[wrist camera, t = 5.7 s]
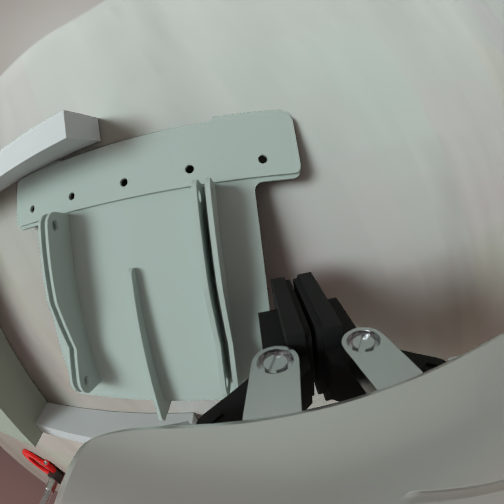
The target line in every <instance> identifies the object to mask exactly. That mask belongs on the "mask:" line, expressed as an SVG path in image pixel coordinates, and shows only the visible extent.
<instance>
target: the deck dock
mask: <svg viewBox="0 0 504 504" xmlns="http://www.w3.org/2000/svg"><path fill="white" fill-rule="evenodd" d="M99 141H101V138H100V131H99V124H98V118H96V117H92V116H87V115H83V114H79V113H74V112H70V111H65V110H63V111H61V112H59V113H57V114H55V115H54V116H52V117H50V118H48V119H47V120H45V121H43V122H42V123H40V124H38V125H37V126H35V127H34V128H32V129H30V130H29V131H27V132H26V133H24V134H23V135H21V136H20V137H18V138H17V139H15V140H14V141H13V142H11V143H10V144H8V145H7V146H6V147H4V148H3V149H2V150H0V192H1V191H2V190H4V189H5V188H7V187H8V186H10V185H12V184H13V183H15V182H17V181H18V180H20V179H22V178H24V177H25V176H27V175H29V174H31V173H33V172H34V171H36V170H38V169H40V168H42V167H44V166H46V165H48V164H50V163H52V162H54V161H56V160H58V159H60V158H62V157H64V156H66V155H69V154H71V153H73V152H75V151H77V150H80V149H82V148H84V147H87V146H89V145H92V144H94V143H96V142H99ZM185 421H189V423H190V424H192V423H196V422H197V421H198V420H197V418H196V416H195V415H194V413H171V414H167V416H166V419H165V421H160V420H159V418H158V415H157V414H156V413H128V412H113V411H102V410H93V409H85V408H78V407H71V406H65V405H60V404H54V403H49V402H47V401H46V399H45V398H44V397H43V395H42V394H41V393H40V391H39V390H38V388H37V387H36V386H35V384H34V383H33V381H32V380H31V378H30V377H29V375H28V374H27V372H26V371H25V369H24V368H23V366H22V365H21V363H20V361H19V360H18V358H17V356H16V355H15V353H14V351H13V349H12V348H11V346H10V344H9V342H8V341H7V339H6V337H5V335H4V333H3V331H2V329H1V327H0V431H2V432H4V433H6V434H8V435H10V436H12V437H14V438H16V439H18V440H20V441H23V442H25V443H27V444H30V445H32V446H34V447H36V445H37V443H38V441H39V439H40V437H41V435H42V433H43V432H45V433H48V434H51V435H54V436H58V437H62V438H65V439H69V440H73V441H77V442H82V443H85V442H87V441H88V440H90V439H92V438H94V437H96V436H99V435H102V434H105V433H109V432H113V431H117V430H122V429H129V428H136V427H149V426H165V425H170V424H175V423H180V422H185Z"/></svg>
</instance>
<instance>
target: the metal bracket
mask: <svg viewBox="0 0 504 504" xmlns="http://www.w3.org/2000/svg"><path fill="white" fill-rule="evenodd" d="M260 156H265V157H266V158H267V162H266V163H264V164H263V163H260V162H259V160H258V158H259V157H260ZM188 166H193V167H194V171H193V172H192V173H190V174H189V173H186V168H187V167H188ZM300 168H301V164H300V158H299V152H298V147H297V141H296V136H295V130H294V125H293V120H292V118H291V116H290V115H289V114H288V113H287V112H284V111H282V110H270V111H258V112H248V113H239V114H231V115H223V116H216V117H213V118H212V119H211V120H210V121H208V122H205V123H199V124H194V125H188V126H183V127H178V128H173V129H168V130H163V131H159V132H155V133H150V134H146V135H142V136H138V137H134V138H131V139H127V140H123V141H120V142H116V143H113V144H110V145H106V146H103V147H100V148H97V149H94V150H91V151H88V152H85V153H82V154H79V155H76V156H74V157H71V158H68V159H66V160H63V161H60V160H56V161H54V162H52V163H50V164H48V165H46V166H44V167H42V168H40V169H38V170H36V171H34V172H33V173H31V174H29V175H27V176H25V177H24V178H22V179H20V180H19V182H18V185H17V225H18V226H20V228H21V229H22V230H26V229H29V228H32V227H36V226H38V237H39V249H40V259H41V267H42V274H43V281H44V287H45V293H46V298H47V303H48V306H49V309H50V311H51V314H52V316H53V319H54V323H55V327H56V331H57V335H58V339H59V342H60V346H61V349H62V353H63V356H64V359H65V362H66V365H67V368H68V371H69V379H70V384H71V386H72V388H73V389H74V390H75V391H77V392H79V393H81V394H88V395H96V396H104V397H113V398H125V399H139V400H153V402H154V405H155V409H156V412H157V415H158V418H159V420H160V421H165V419H166V416H167V413H168V410H169V407H170V404H171V401H192V400H218V399H224V398H225V397H226V396H227V395H229V394H230V393H231V392H232V391H234V390H235V389H236V388H237V387H238V386H240V385H241V384H242V383H243V382H244V381H246V380H247V379H248V378H249V375H250V369H251V362H252V360H253V357H254V356H255V355H256V354H257V353H258V352H260V351H261V350H263V348H262V341H261V333H260V325H259V317H258V313H260V312H265V311H270V309H269V301H268V292H267V284H266V276H265V267H264V259H263V251H262V243H261V235H260V227H259V219H258V211H257V204H256V196H255V187H256V186H257V185H258V184H260V183H262V182H271V181H281V180H291V179H295V178H297V177H298V176H299V174H300ZM124 179H127V181H128V182H127V185H126V186H124V187H123V186H122V181H123V180H124ZM73 193H74V199H73V200H71V195H72V194H73ZM33 206H34V208H35V209H34V212H33V210H32V209H33Z"/></svg>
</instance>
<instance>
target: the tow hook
mask: <svg viewBox="0 0 504 504" xmlns="http://www.w3.org/2000/svg"><path fill="white" fill-rule="evenodd" d="M22 453H23V455H24V456H25V457H26V458H27V459H28V460H29V461H30V462H31V463H33V464H34V465H35V466H36V467H38V468H39V469H41V470H42V471H43V472H45V473H47V474H48V475H47V476H48V477H50V478H49V480H48V482H47V485H46V490H45V492H44V495H43V497H42V499H41V502H40V504H48V502H49V500H50V497H51V495H52V493H54V491H55V489H56V486H57V484H58V483H59V484H61V482H62V481H63V478H64V476H65V475H64V474H63V473H62V472H61V471H60V470H59V469H57V468H56V467H55V466H53V465H52V464H51V463H50V462H49V461H48V460H42V459H41V458H39V457H38V456H36V455H35V454H33V453H31V452H30V451H28V450H26V449H23V451H22ZM35 460H36V461H37V462H39V463H40V464H42V465H43V466H44V467H46V468H47V469H49V470H50V471H49V470H47V469H46V468H44V467H43V466H41V465H40V464H39V463H37V462H36V461H35Z"/></svg>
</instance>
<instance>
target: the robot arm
mask: <svg viewBox="0 0 504 504" xmlns="http://www.w3.org/2000/svg"><path fill="white" fill-rule="evenodd" d="M293 284H294V289H293V287H292V284H291V282H290V280H285V279H284V277H283V278H277V279H272V280H271V285H272V291H273V298H274V304H275V310H271V311H265V312H260V313H258V317H259V325H260V333H261V341H262V348H263V350H261V351H260V352H258V353H257V354H256V355H255V356H254V357H253V360H252V362H251V369H250V375H249V378H248V379H247V380H246V381H244V382H243V383H242V384H241V385H240V386H238V387H237V388H236V389H235V390H234V391H232V392H231V393H230V394H229V395H227V396H226V397H225V398H224V399H223V400H221V401H220V402H219V403H217V404H216V405H215V406H214V407H212V408H211V409H210V410H209V411H207V412H206V413H205V414H203V415H202V416H201V417H200V418H199V419H198V421H197V422H196V423H192V424H190V423H189V421H185V422H180V423H175V424H170V425H165V426H149V427H136V428H129V429H122V430H117V431H113V432H109V433H105V434H102V435H99V436H96V437H94V438H92V439H90V440H88V441H87V442H85V443H84V444H83V445H82V446H81V448H80V449H79V450H78V452H77V453H76V455H75V456H74V458H73V460H72V461H71V463H70V465H69V467H68V469H67V471H66V474H65V476H64V478H63V481H62V483H61V486H60V489H59V492H58V494H57V497H56V501H55V503H54V504H504V333H502V334H500V335H498V336H496V337H494V338H492V339H490V340H489V341H487V342H485V343H483V344H481V345H479V346H477V347H475V348H473V349H472V350H470V351H468V352H466V353H464V354H462V355H459V356H455V357H451V358H448V359H447V362H446V361H444V360H443V359H439V358H436V357H431V356H426V355H421V354H416V353H412V352H407V351H403V350H399V349H398V348H397V347H396V346H395V345H394V344H393V343H392V342H391V341H390V340H389V339H388V338H387V337H386V336H385V335H384V334H383V333H381V332H380V331H378V330H376V329H374V328H369V327H359V328H356V327H355V325H354V324H353V322H352V321H351V319H350V318H349V316H348V315H347V313H346V312H345V310H344V309H343V307H342V306H341V304H340V303H339V301H338V300H337V299H336V298H331V299H327V298H326V296H325V294H324V293H323V291H322V289H321V288H320V286H319V285H318V283H317V281H316V280H315V278H314V277H313V275H312V273H311V272H309V273H304V274H299V275H298V276H297V278H296V279H293ZM314 383H315V386H316V389H317V392H318V394H322V393H323V394H324V397H325V400H326V401H328V400H332V399H333V400H336V401H339V402H337V403H333V404H329V405H325V406H321V407H317V408H312V409H308V410H307V408H308V407H309V406H310V405H311V404H312V396H314Z"/></svg>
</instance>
